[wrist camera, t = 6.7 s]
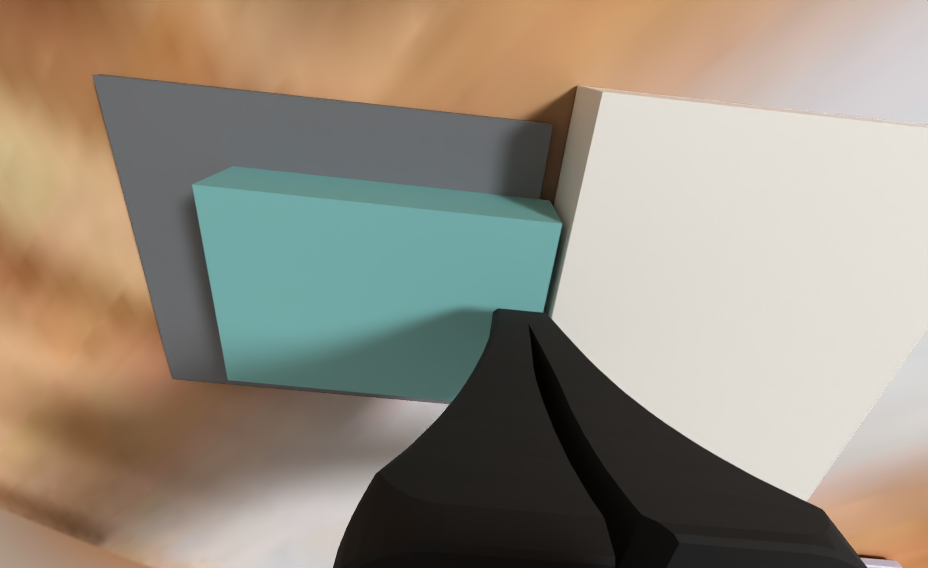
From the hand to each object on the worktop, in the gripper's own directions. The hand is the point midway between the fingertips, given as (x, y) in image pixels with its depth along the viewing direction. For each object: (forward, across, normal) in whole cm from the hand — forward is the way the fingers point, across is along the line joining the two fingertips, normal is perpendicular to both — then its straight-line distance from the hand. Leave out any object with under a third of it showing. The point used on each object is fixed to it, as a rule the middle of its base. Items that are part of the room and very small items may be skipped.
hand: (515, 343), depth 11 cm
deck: (+3, -6, 0) cm, 7 cm away
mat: (+3, +6, 0) cm, 6 cm away
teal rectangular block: (+3, +4, 0) cm, 5 cm away
